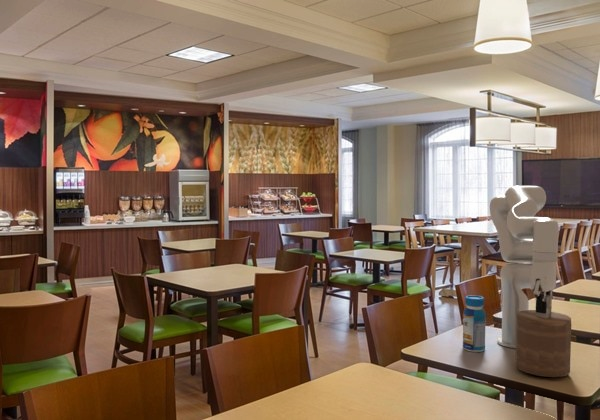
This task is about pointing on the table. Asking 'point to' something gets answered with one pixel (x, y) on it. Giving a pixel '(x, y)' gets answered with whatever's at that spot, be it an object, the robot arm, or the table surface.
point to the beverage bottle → (474, 324)
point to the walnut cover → (543, 342)
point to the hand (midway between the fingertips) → (543, 311)
